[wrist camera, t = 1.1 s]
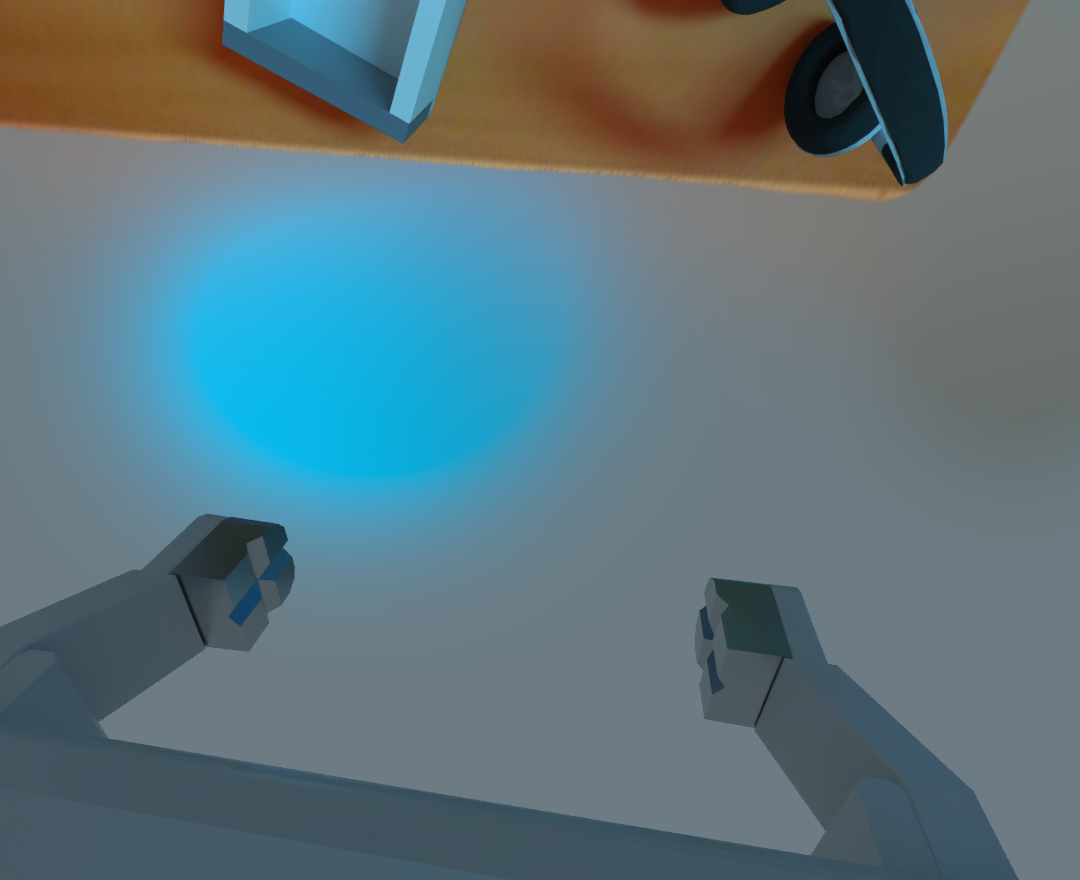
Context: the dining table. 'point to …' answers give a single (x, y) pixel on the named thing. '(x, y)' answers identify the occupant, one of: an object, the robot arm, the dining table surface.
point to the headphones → (867, 87)
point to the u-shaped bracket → (353, 52)
